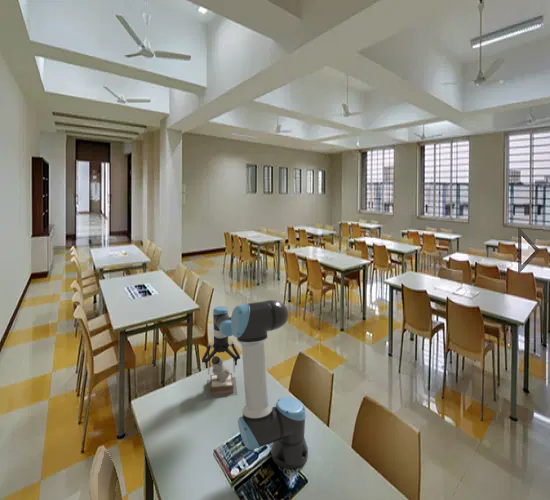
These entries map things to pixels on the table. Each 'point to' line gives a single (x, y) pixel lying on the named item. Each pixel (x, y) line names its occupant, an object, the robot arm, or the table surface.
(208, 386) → the mat
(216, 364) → the figurine
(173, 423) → the table surface
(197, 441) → the table surface
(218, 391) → the plinth
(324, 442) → the table surface
